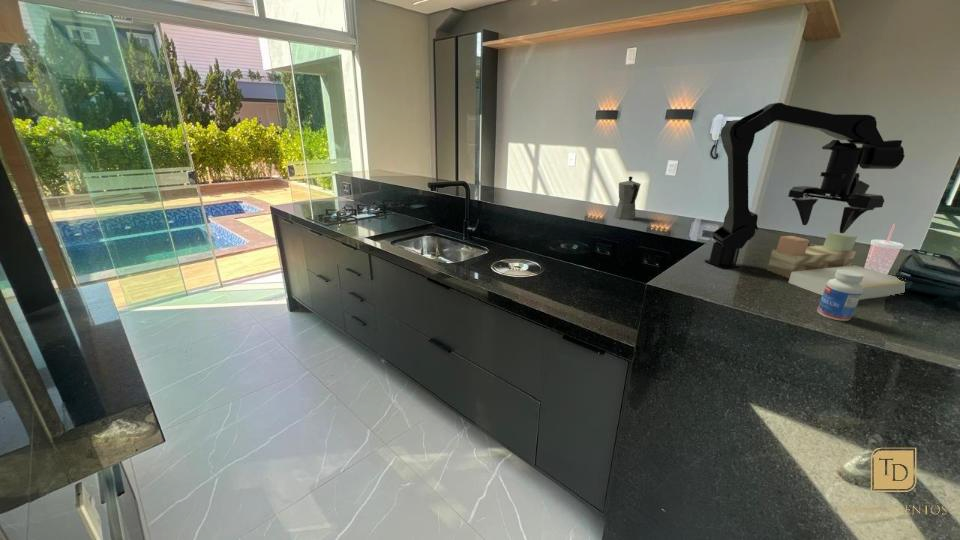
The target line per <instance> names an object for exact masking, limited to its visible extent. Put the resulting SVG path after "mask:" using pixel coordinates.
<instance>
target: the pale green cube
mask: <svg viewBox="0 0 960 540" xmlns="http://www.w3.org/2000/svg"><path fill="white" fill-rule="evenodd" d="M856 240H857V235H852V234H847V233H840V231H838V232H836V231H835V232H827V235H826V237H825V240H824V243H823V245H824V246H823V245H822V246H823V247H826V248H830V249H833V250H837V251H853V249H854V245H855V243H856Z"/></svg>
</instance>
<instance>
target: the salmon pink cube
mask: <svg viewBox="0 0 960 540" xmlns="http://www.w3.org/2000/svg"><path fill="white" fill-rule="evenodd" d="M809 241H810V239H806V238H802V237H798V236H795V235H784V236H783V235H782V236H780V237H779V240H778V243H777V247H776V249H777V250H776V251H779V252H782V253H785V254H789V255H792V256H797V255H805V252H806V249H807V246H808V243H809V244H810V242H809Z"/></svg>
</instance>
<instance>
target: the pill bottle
mask: <svg viewBox="0 0 960 540" xmlns="http://www.w3.org/2000/svg"><path fill="white" fill-rule="evenodd" d="M863 276H864V275H863V274H861V273H859V272H856V271H851V270H844V269H839V270H837V272H836V274H835V277H836V278H835V279H831V280H829V281H828V282H827V285H826V287H825V290H824V293H823V295H821V299H820V300H819V304H818V307H817V309H816V312H817V313H818V314H819V315H821V316H823V317H824V318H827V319H830V320H836V321H842V322H846V321H847V322H848V321H849V320H851V319H852V317H853V315H854V313H855V311H856V309H857V305H858V303H859V301H860V300H859V299H860V296H861V294H862V291H863V287H862V286H861V285H860V284H859V283H860V282H861V281H862V279H863Z"/></svg>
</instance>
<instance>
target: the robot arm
mask: <svg viewBox="0 0 960 540" xmlns="http://www.w3.org/2000/svg"><path fill="white" fill-rule="evenodd" d="M774 122H778V123H783V124H788V125H793V126H797V127H798V126H799V127H802V128H803V127H804V128H808V129H812V130H813V129H814V130H818V131H820V132H822V133H824V134H826V135H827V136H830V137H831V138H834V139H831V141H830V142H828V143H827V144H825V145H823V146H822V147H821V149H822V150H828V151H831V152H830V156H829V158H828V162H827V164H826V168H825V171H823V172H822V171H821V172H820V176H819V177H822V178H823V179H822V181H821V185H820V188H819V187H817V186H816V187H815V186H809V185H802V186H801V185H799V186H792V188H790V189H789V191H788V195H787V197H789V198H791V201H792V202H794V204H795V205H796V208H797V211H798V213H799V217H800V221H801V224H802V226H808V224H809V221H810V218H811V215H812V211H813V207H814V205H815V204H816V203H817V202H818V201H819V199H821V200H822V199H824V200H829V201H830V200H831V201H835V202H843V203H847V205H848V206H844V208H843V211H842V216H841V221H840V225H839V233H844V234H846V232H847V231H848V230H849V228H850V227H851V226H852V225H853V223H854V222H856V220H857V219H858V218H859V217H860V216H861V215H863V214H864V213H866V212H868V211H874V209H876V208H883V206H884V203H885V199H884V196H883V195H879V194H874V193H866V192H868V189H869V188H870V184H868V183H866V182H864V181H862V180H860V179H859V178H860V172H859V173H858V172H857V171H858V168H859V167H860V168H861V169H863V170H893V169H896V168H898V167H899V166H900V165H901V164H902V163H903V160H904V159H905V150H904V147H903V146H902V143H903V140H901V139H889V140H884V139H883V137H882V136H881V133H880V132H879V130H878V127H877V125H878V124H877V123H878V122H877V119H876V117H875V116H873V115H871V114H857V113H855V114H850V113H849V114H848V113H847V114H845V113H844V114H841V113H840V114H835V113H829V112H824V111H819V110H814V109H809V108H803V107H799V106H793V105H787V104H785V103H783V102H775V103H770V104H767V105H765V106H763V107H762V108H761V109H759V110H757V111H754V112H752V113H750V114H747V115H746V116H744V117H742V118H740V119H734V120H731V121H728V122H727V123H725V124H724V125H723V127H721V130H720V138H721V143H722V147H723V149H724V151H725V153H726V157H727V177H728V179H727V180H728V182H727V183H728V185H727V187H728V194H727V195H728V208H727V211H726V213H725V215H724V219H723V224H722V226H721V227H719V228H718V229H716V230H715V231H713V232H712V233H711V234H712V239H713V240H714V241H715V242H713V244H712V249H711V252H710V256H709V259H705V260H704V262H706V263H708V264H710V265H713V266H716V267H718V268H721V269H729V268H730V269H732V268H740V267H741V265H740V264H738V263H737V262H738V257H739V254H740V249H741V250H742V249H743V248H744V246H745V245H746V243H747V242H748V241H750V240H751V239H752V238H753V237H754V236H755V234H756V230H759V227H758V218H759V217H758V214H757V213H755V212H752V211H750V208H749V154H750V152H751V149H752V147H753V145H754V141H755V136H756V134H757V133H759V132H760V131H763V130H764V129H766V128H767V127H768V126H770V125H771V124H773V123H774ZM840 140H841V141H847V142H841V141H840ZM857 145H861V147H860V146H859V147H858V146H857ZM827 194H828V195H827Z"/></svg>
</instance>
